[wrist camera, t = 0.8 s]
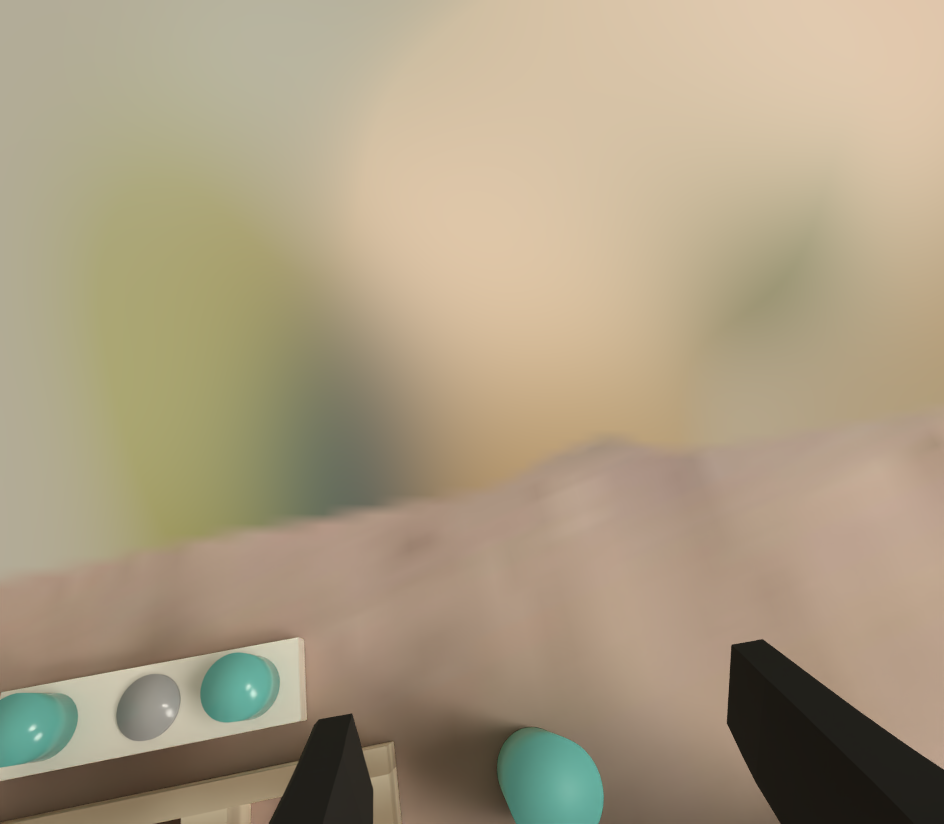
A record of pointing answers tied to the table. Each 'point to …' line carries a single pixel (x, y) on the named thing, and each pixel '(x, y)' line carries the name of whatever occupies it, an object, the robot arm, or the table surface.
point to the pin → (549, 779)
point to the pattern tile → (151, 707)
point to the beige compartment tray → (225, 797)
